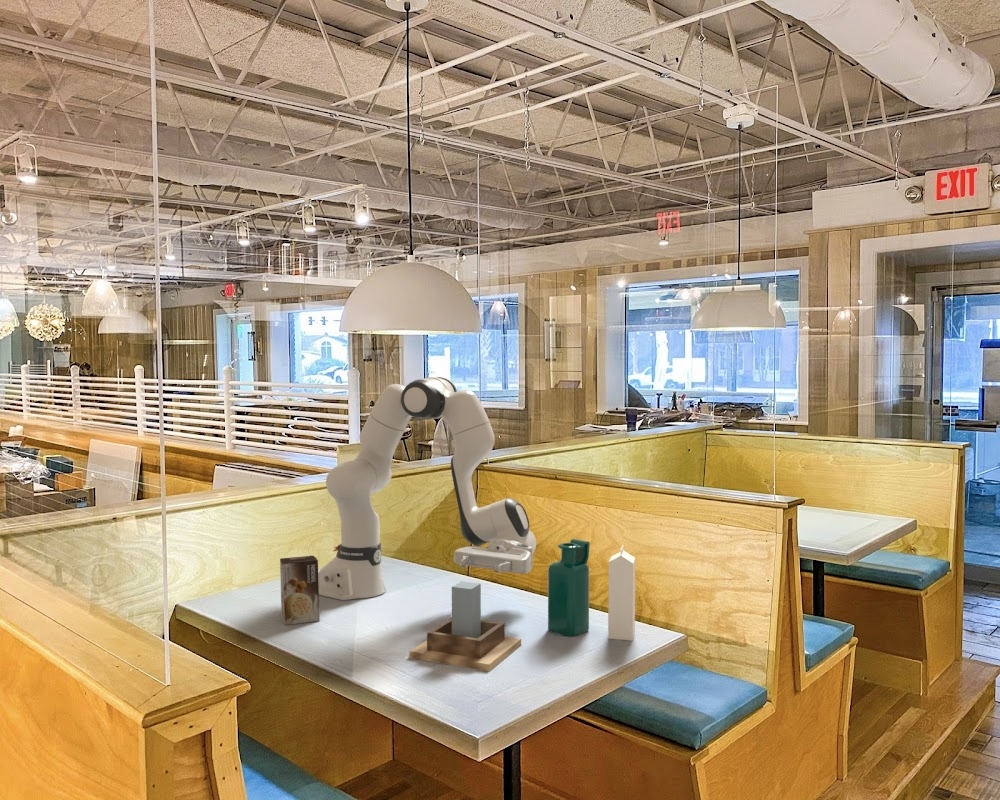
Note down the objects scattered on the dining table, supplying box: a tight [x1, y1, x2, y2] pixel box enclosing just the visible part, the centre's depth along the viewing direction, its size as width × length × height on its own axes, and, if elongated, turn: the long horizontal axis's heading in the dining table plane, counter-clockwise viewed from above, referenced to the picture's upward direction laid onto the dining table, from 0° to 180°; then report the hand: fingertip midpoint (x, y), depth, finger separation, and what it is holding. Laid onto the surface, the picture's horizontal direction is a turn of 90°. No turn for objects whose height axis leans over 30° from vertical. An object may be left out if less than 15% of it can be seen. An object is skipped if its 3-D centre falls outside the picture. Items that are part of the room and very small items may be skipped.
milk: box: [607, 545, 636, 641], centre depth 197 cm, size 6×6×22 cm
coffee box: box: [279, 555, 321, 626], centre depth 210 cm, size 9×6×16 cm
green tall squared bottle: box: [547, 538, 590, 638], centre depth 201 cm, size 10×8×22 cm
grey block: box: [451, 581, 482, 638], centre depth 186 cm, size 5×5×14 cm
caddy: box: [408, 617, 522, 672], centre depth 187 cm, size 20×18×6 cm
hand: (479, 566), depth 200 cm, fingers open, 8 cm apart
